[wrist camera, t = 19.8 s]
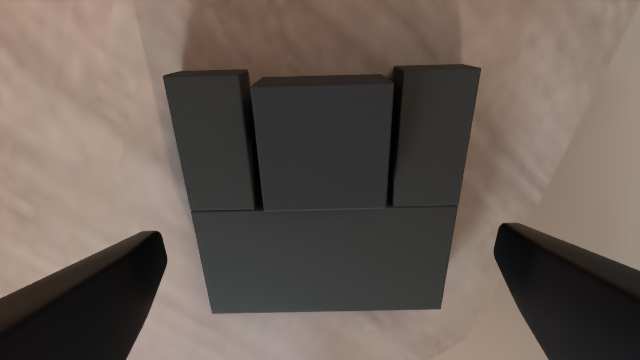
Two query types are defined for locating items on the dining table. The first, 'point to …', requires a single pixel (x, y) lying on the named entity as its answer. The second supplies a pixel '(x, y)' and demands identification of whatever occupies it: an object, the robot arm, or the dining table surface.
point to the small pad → (323, 141)
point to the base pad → (324, 225)
